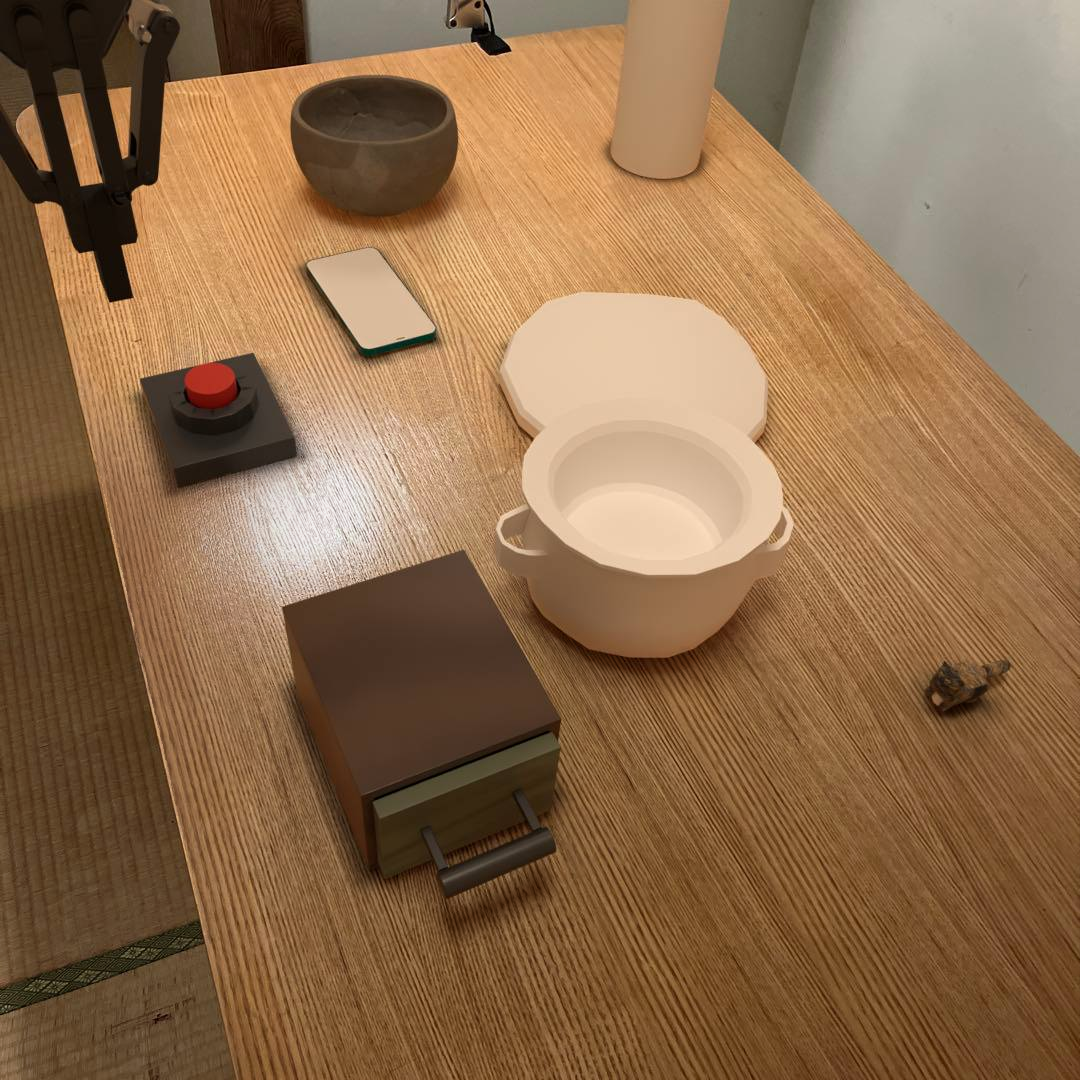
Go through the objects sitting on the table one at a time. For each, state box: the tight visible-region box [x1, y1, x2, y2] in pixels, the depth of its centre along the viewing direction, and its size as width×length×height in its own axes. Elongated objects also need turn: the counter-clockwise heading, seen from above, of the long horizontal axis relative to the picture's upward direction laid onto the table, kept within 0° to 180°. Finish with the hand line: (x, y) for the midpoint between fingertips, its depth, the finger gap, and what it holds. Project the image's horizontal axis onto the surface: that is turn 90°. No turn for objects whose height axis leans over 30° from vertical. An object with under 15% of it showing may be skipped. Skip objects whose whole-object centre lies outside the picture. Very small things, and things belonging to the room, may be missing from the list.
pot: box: [492, 398, 795, 659], centre depth 79 cm, size 22×17×12 cm
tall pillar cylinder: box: [610, 0, 731, 180], centre depth 120 cm, size 11×11×25 cm
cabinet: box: [281, 549, 562, 872], centre depth 70 cm, size 15×13×10 cm
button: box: [185, 362, 237, 409], centre depth 89 cm, size 4×4×2 cm
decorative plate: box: [498, 291, 769, 444], centre depth 98 cm, size 25×4×25 cm
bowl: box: [289, 74, 459, 218], centre depth 116 cm, size 17×18×10 cm
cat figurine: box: [924, 659, 1012, 712], centre depth 78 cm, size 3×8×4 cm, turn 116°
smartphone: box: [305, 246, 438, 357], centre depth 105 cm, size 8×1×16 cm
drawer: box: [372, 732, 562, 900], centre depth 67 cm, size 18×11×8 cm, turn 26°
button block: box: [139, 352, 298, 488], centre depth 91 cm, size 10×12×4 cm
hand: (116, 288), depth 68 cm, fingers closed
